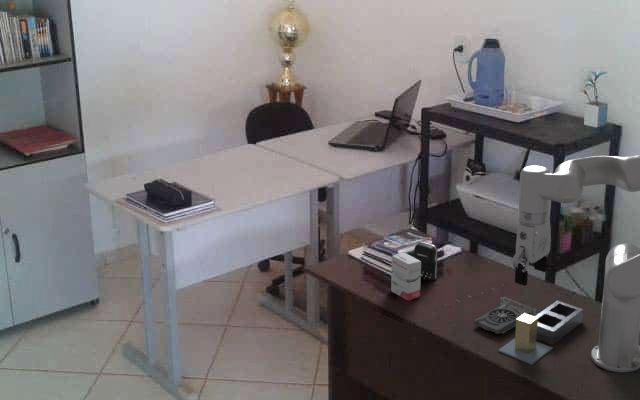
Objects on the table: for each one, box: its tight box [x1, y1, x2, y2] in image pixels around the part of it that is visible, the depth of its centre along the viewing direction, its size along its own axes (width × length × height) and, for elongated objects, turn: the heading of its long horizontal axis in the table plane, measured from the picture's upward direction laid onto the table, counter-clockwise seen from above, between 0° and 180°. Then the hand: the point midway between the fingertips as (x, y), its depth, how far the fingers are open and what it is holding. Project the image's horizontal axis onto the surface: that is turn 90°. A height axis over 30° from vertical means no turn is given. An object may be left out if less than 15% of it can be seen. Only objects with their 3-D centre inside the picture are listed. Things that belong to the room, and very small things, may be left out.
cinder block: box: [535, 300, 584, 345], centre depth 237 cm, size 8×16×4 cm, turn 136°
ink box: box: [390, 251, 422, 302], centre depth 258 cm, size 9×5×12 cm, turn 34°
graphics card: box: [474, 296, 537, 335], centre depth 242 cm, size 17×4×12 cm
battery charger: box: [413, 241, 438, 282], centre depth 267 cm, size 7×4×11 cm, turn 51°
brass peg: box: [514, 313, 538, 354], centre depth 226 cm, size 4×4×9 cm
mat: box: [498, 337, 553, 366], centre depth 228 cm, size 10×10×1 cm
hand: (530, 277), depth 222 cm, fingers open, 9 cm apart
